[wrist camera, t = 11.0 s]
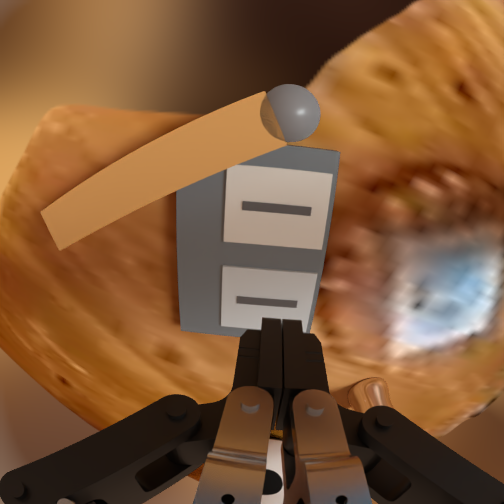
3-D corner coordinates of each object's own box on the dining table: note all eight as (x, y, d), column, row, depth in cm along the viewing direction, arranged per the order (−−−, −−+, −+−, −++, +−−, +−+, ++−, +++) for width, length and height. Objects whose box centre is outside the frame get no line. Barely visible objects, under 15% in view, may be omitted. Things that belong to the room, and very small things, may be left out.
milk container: (190, 448, 45) (173, 532, 29) (257, 414, 40) (252, 524, 23) (259, 477, 50) (256, 550, 33) (327, 449, 44) (337, 536, 28)
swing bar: (302, 82, 20) (307, 76, 17) (322, 130, 21) (328, 130, 19) (55, 204, 24) (40, 211, 22) (73, 240, 25) (59, 251, 23)
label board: (336, 150, 26) (341, 152, 24) (306, 333, 34) (308, 343, 32) (182, 138, 26) (176, 139, 24) (183, 322, 34) (180, 332, 32)
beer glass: (397, 373, 36) (431, 460, 22) (381, 404, 39) (404, 486, 25) (351, 375, 36) (376, 471, 22) (338, 407, 39) (354, 495, 25)
